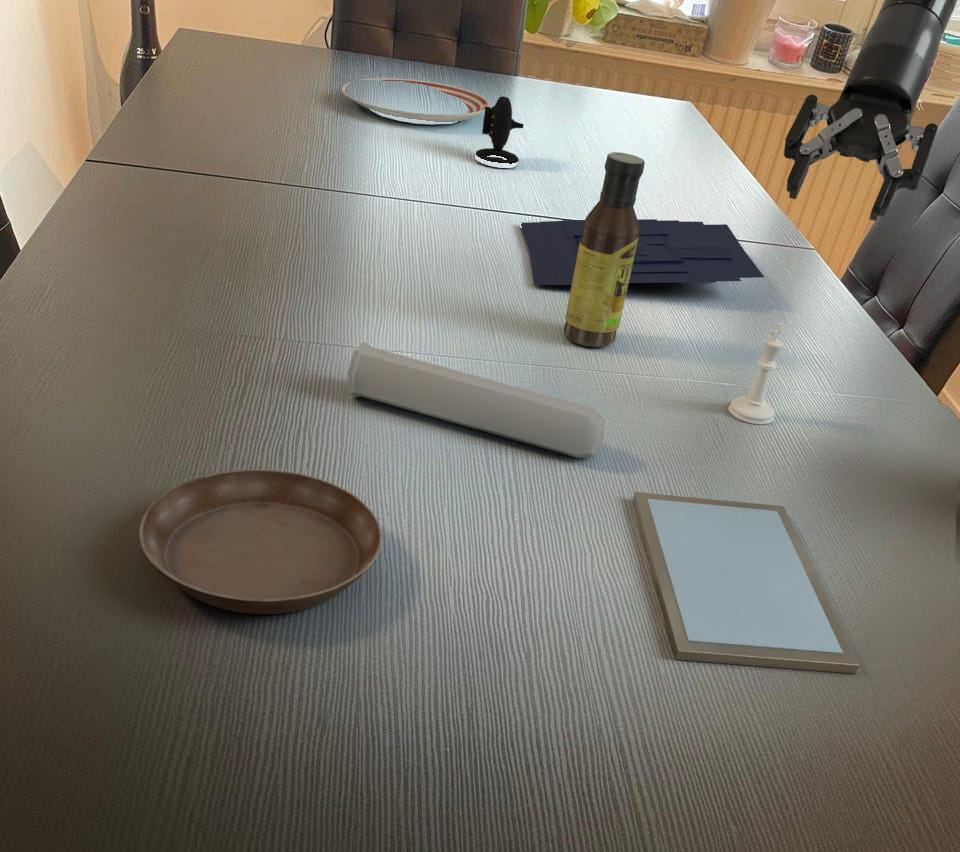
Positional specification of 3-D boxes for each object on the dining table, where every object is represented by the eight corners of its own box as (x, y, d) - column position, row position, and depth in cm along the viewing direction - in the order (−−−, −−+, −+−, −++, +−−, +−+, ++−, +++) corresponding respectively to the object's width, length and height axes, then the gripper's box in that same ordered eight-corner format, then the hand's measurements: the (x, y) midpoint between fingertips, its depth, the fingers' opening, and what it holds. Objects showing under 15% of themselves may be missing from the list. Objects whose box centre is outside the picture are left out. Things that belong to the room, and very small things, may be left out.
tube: (615, 407, 97) (372, 341, 101) (607, 413, 92) (352, 343, 96) (600, 462, 99) (362, 394, 103) (591, 470, 94) (342, 399, 98)
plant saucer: (226, 476, 86) (225, 444, 85) (416, 539, 83) (419, 507, 81) (91, 584, 73) (86, 549, 71) (310, 665, 70) (311, 630, 68)
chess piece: (719, 408, 109) (746, 318, 103) (746, 398, 112) (774, 310, 105) (755, 428, 106) (786, 337, 100) (782, 418, 109) (814, 328, 103)
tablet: (780, 514, 94) (784, 504, 93) (855, 674, 77) (860, 664, 76) (632, 500, 92) (634, 490, 91) (675, 660, 75) (678, 649, 75)
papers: (764, 304, 131) (770, 275, 129) (532, 307, 130) (534, 278, 128) (720, 239, 150) (724, 213, 148) (517, 241, 149) (518, 215, 146)
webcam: (474, 153, 174) (482, 88, 167) (518, 159, 174) (527, 95, 168) (472, 165, 168) (480, 99, 161) (517, 172, 168) (527, 106, 162)
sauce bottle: (612, 355, 116) (653, 170, 104) (558, 344, 117) (593, 159, 104) (617, 334, 121) (657, 155, 109) (566, 323, 122) (599, 144, 109)
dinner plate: (316, 110, 181) (316, 90, 179) (375, 85, 202) (377, 66, 200) (460, 144, 177) (462, 123, 175) (506, 114, 198) (509, 95, 196)
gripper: (829, 26, 105) (768, 166, 104) (970, 56, 101) (908, 202, 100) (821, 77, 112) (764, 208, 111) (952, 107, 108) (895, 243, 107)
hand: (832, 205), depth 105 cm, fingers open, 8 cm apart
